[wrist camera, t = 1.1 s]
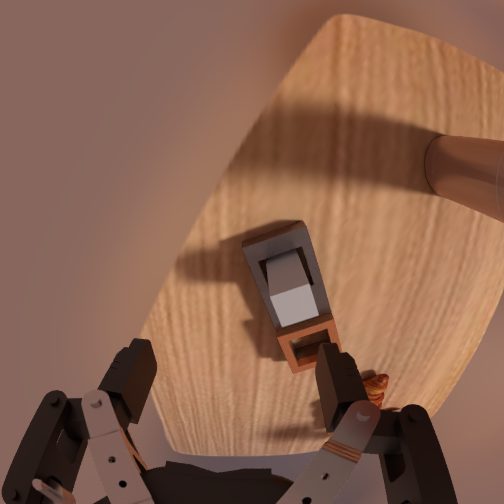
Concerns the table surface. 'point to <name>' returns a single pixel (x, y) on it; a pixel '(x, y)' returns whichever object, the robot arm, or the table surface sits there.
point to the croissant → (375, 389)
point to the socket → (293, 239)
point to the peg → (290, 288)
